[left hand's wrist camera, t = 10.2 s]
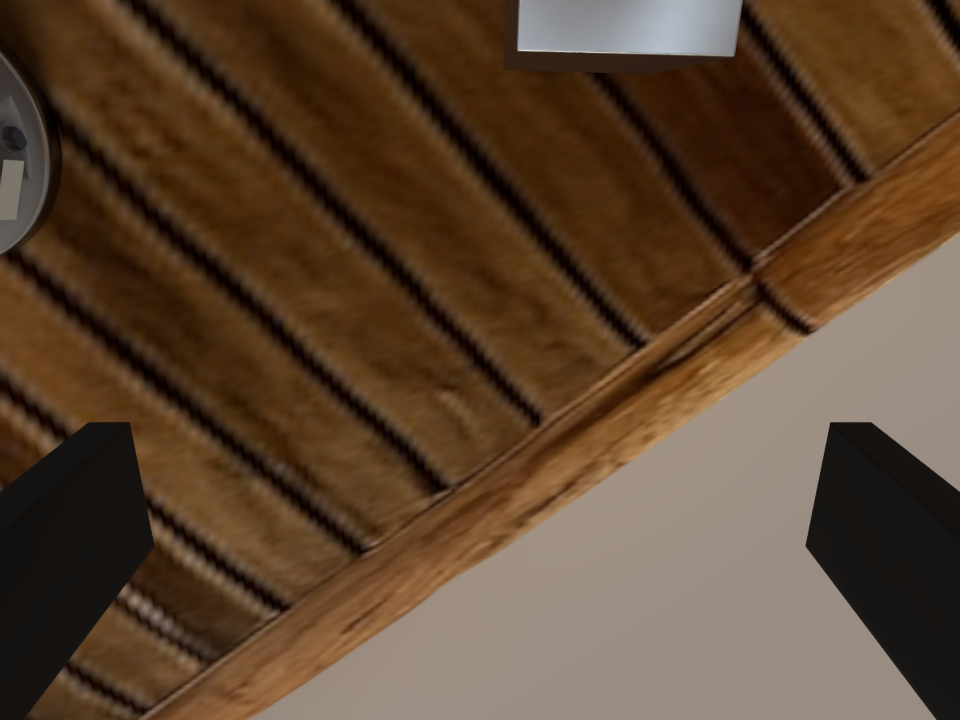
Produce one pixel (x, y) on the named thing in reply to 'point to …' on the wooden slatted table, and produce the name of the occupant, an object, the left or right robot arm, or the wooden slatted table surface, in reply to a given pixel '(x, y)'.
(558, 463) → the wooden slatted table surface
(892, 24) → the wooden slatted table surface
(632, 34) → the bar
